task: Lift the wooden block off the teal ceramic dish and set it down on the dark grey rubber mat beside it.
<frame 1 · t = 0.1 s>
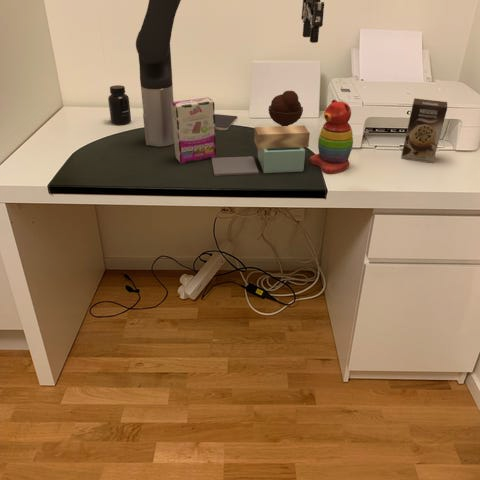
hand: (309, 39, 136), 29 cm above the table, tool pointing down, fingers open, 8 cm apart
supplement bottle: (121, 122, 162), on the table
dish: (279, 164, 133), on the table
mat: (234, 166, 131), on the table
wooden block: (281, 143, 129), point 6 cm above the table, touching dish
ice cream bowl: (283, 137, 151), on the table
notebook: (203, 123, 163), on the table
stacking bear: (331, 165, 133), on the table
candy bar box: (195, 158, 136), on the table
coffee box: (417, 157, 138), on the table
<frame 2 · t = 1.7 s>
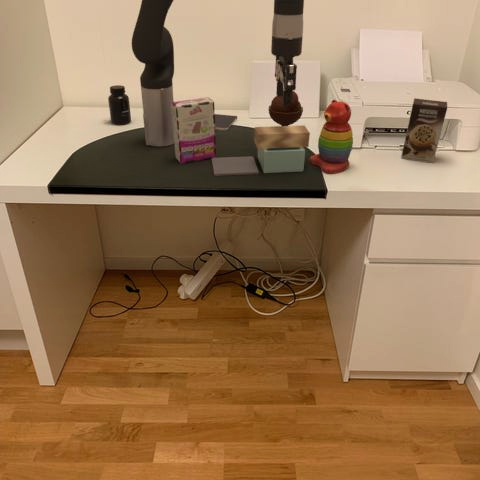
hand: (283, 100, 123), 18 cm above the table, tool pointing down, fingers open, 8 cm apart
nothing on the table moved.
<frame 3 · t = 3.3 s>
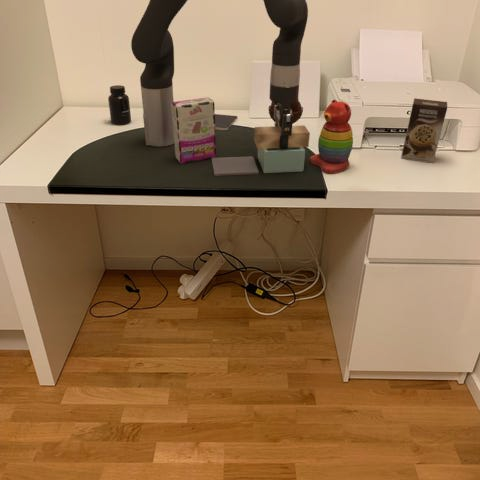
hand: (281, 143, 129), 6 cm above the table, tool pointing down, fingers closed on wooden block, 6 cm apart
wooden block: (281, 143, 129), point 6 cm above the table, touching dish, gripper
everything else where it was.
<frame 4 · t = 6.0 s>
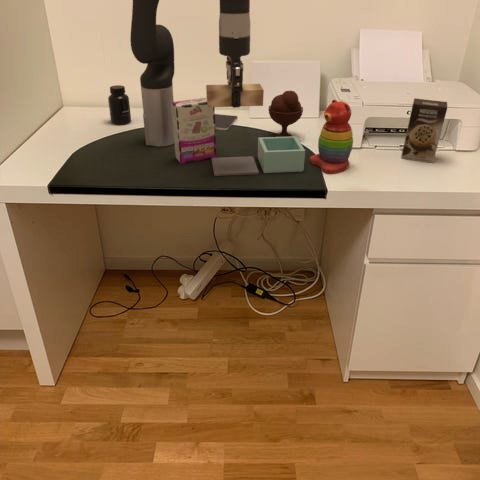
hand: (234, 103, 121), 18 cm above the table, tool pointing down, fingers closed on wooden block, 6 cm apart
wooden block: (234, 103, 121), point 18 cm above the table, touching gripper
everything else where it was.
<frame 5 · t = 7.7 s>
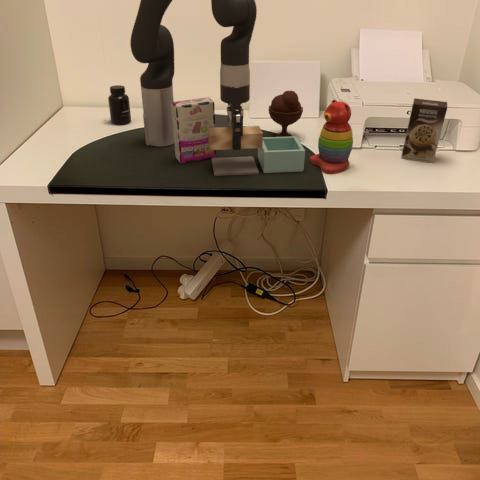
hand: (235, 144, 127), 6 cm above the table, tool pointing down, fingers closed on wooden block, 6 cm apart
wooden block: (235, 144, 127), point 6 cm above the table, touching gripper
everything else where it was.
when the fingers open (3 cm above the table, at t = 9.0 s): wooden block drops 2 cm, resting on mat.
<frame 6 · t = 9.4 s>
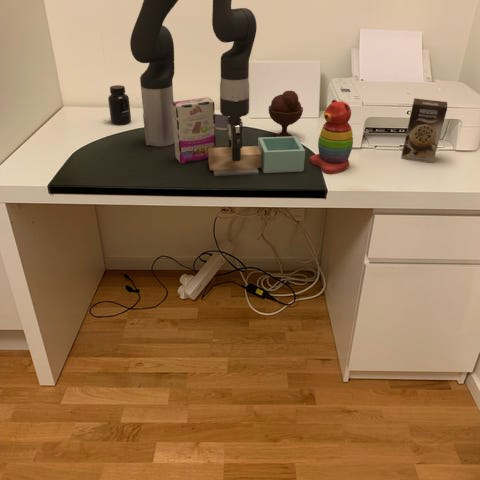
hand: (234, 154, 129), 4 cm above the table, tool pointing down, fingers open, 8 cm apart
wooden block: (234, 164, 130), point 1 cm above the table, touching mat
everything else where it was.
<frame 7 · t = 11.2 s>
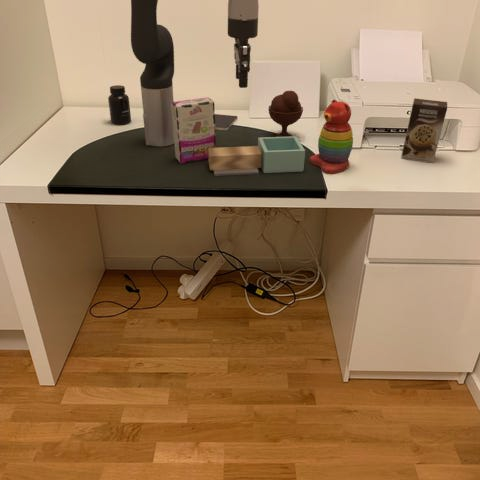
hand: (241, 83, 124), 21 cm above the table, tool pointing down, fingers open, 8 cm apart
nothing on the table moved.
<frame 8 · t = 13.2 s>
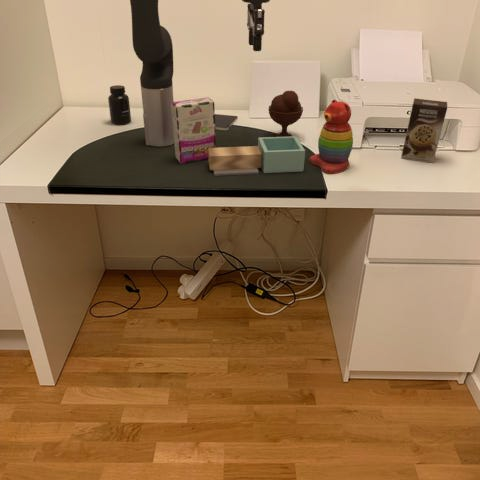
hand: (254, 47, 130), 28 cm above the table, tool pointing down, fingers open, 8 cm apart
nothing on the table moved.
at the end: wooden block inside the target area on the mat (0.1 cm from its centre), point 0.6 cm above the mat's base; wooden block touching mat; the gripper is holding nothing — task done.
